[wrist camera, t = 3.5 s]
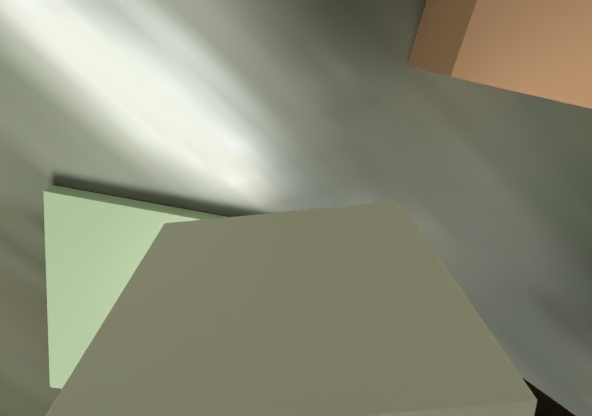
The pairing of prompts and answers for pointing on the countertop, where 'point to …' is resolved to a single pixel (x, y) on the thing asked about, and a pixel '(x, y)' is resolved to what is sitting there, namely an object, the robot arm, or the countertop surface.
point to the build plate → (93, 263)
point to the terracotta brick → (510, 45)
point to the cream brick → (294, 326)
